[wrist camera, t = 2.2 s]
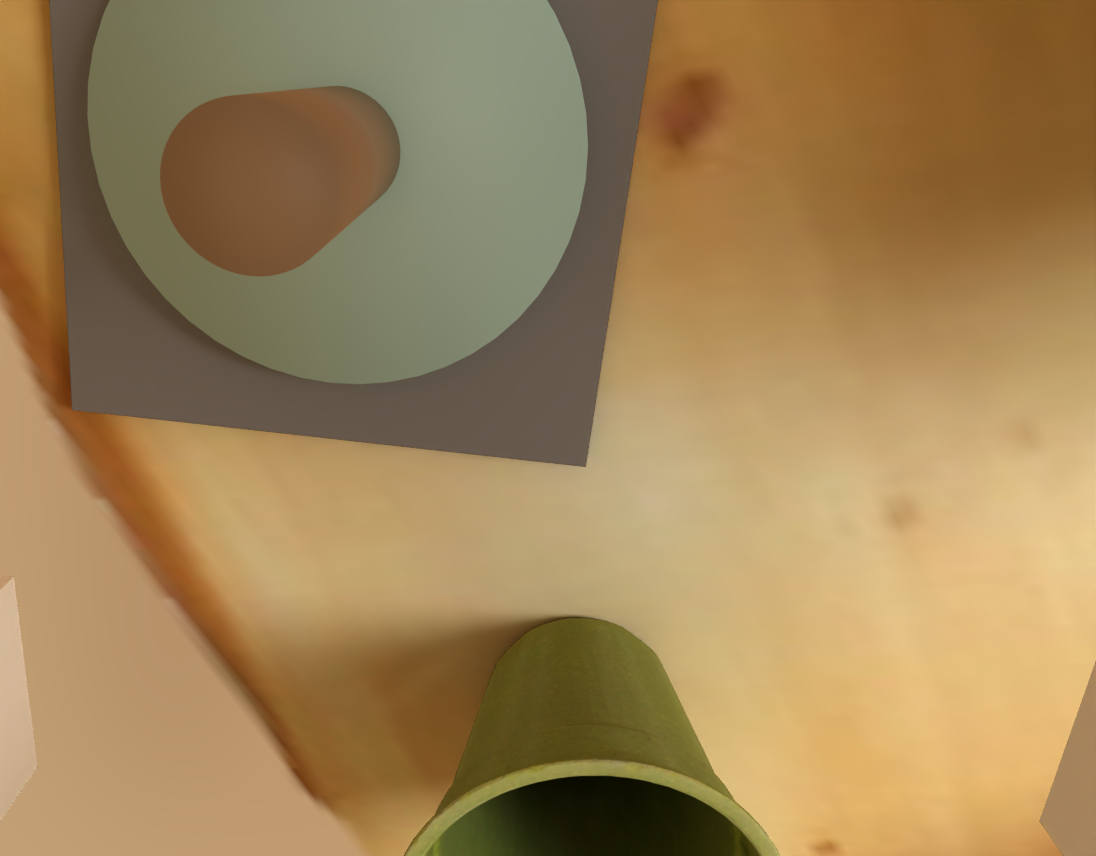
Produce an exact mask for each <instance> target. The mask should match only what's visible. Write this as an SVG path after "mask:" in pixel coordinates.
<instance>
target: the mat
mask: <svg viewBox="0 0 1096 856" xmlns="http://www.w3.org/2000/svg"><path fill="white" fill-rule="evenodd" d="M109 1H110V0H49V4H50V22H51V39H52V57H53V75H54V93H55V111H56V129H57V147H58V165H59V183H60V200H61V218H62V236H63V254H64V272H65V290H66V308H67V326H68V344H69V361H70V379H71V397H72V410H77V411H86V412H95V413H104V414H113V415H122V416H131V417H140V418H149V419H158V420H167V421H177V422H186V423H195V424H204V425H213V426H222V427H231V428H240V429H249V430H258V431H267V432H276V433H285V434H294V435H303V436H312V437H321V438H330V439H339V440H348V441H357V442H366V443H375V444H384V445H393V446H402V447H411V448H420V449H429V450H438V451H447V452H456V453H465V454H474V455H483V456H492V457H501V458H510V459H519V460H528V461H537V462H546V463H555V464H564V465H573V466H582V467H586V461H587V455H588V448H589V442H590V436H591V429H592V423H593V416H594V410H595V403H596V397H597V390H598V384H599V377H600V371H601V364H602V358H603V352H604V345H605V339H606V332H607V326H608V319H609V313H610V306H611V300H612V293H613V287H614V281H615V274H616V268H617V261H618V255H619V248H620V242H621V235H622V229H623V222H624V216H625V209H626V203H627V197H628V190H629V184H630V177H631V171H632V164H633V158H634V151H635V145H636V138H637V132H638V125H639V119H640V113H641V106H642V100H643V93H644V87H645V80H646V74H647V67H648V61H649V54H650V48H651V42H652V35H653V29H654V22H655V16H656V9H657V3H658V0H547V1H548V3H549V4H550V6H551V8H552V9H553V11H554V13H555V15H556V17H557V19H558V21H559V23H560V26H561V28H562V30H563V32H564V34H565V37H566V39H567V41H568V43H569V45H570V49H571V52H572V55H573V58H574V61H575V65H576V68H577V71H578V74H579V77H580V82H581V87H582V93H583V98H584V104H585V109H586V118H587V137H588V155H587V169H586V181H585V186H584V191H583V196H582V201H581V206H580V211H579V214H578V217H577V220H576V223H575V226H574V229H573V232H572V235H571V238H570V241H569V243H568V245H567V247H566V249H565V251H564V254H563V256H562V258H561V260H560V262H559V264H558V266H557V268H556V270H555V271H554V273H553V274H552V276H551V277H550V279H549V280H548V282H547V283H546V285H545V286H544V288H543V289H542V291H541V292H540V294H539V295H538V297H537V298H536V299H535V300H534V301H533V302H532V303H531V305H530V306H529V307H528V308H527V309H526V310H525V311H524V313H523V314H522V315H521V316H520V317H519V318H518V319H517V320H516V321H515V322H514V323H512V324H511V325H510V326H509V327H508V328H507V329H506V330H505V331H503V332H502V333H501V334H500V335H499V336H498V337H497V338H495V339H494V340H492V341H491V342H489V343H488V344H486V345H485V346H483V347H482V348H480V349H479V350H477V351H476V352H474V353H473V354H471V355H469V356H467V357H465V358H463V359H461V360H459V361H457V362H455V363H453V364H451V365H448V366H446V367H444V368H441V369H438V370H435V371H432V372H429V373H426V374H423V375H420V376H417V377H412V378H407V379H402V380H397V381H392V382H384V383H370V384H345V383H329V382H323V381H317V380H311V379H306V378H300V377H297V376H293V375H290V374H287V373H283V372H280V371H277V370H273V369H270V368H268V367H266V366H263V365H261V364H259V363H257V362H254V361H252V360H250V359H247V358H245V357H243V356H241V355H239V354H238V353H236V352H234V351H232V350H231V349H229V348H227V347H225V346H224V345H222V344H220V343H219V342H217V341H215V340H214V339H212V338H211V337H210V336H208V335H207V334H206V333H204V332H203V331H202V330H200V329H199V328H198V327H196V326H195V325H194V324H192V323H191V322H190V321H189V320H188V319H186V318H185V317H184V316H183V315H182V314H181V313H180V312H179V311H178V310H177V309H176V308H175V307H174V306H173V305H172V304H171V303H169V302H168V301H167V300H166V299H165V297H164V296H163V295H162V294H161V293H160V292H159V290H158V289H157V288H156V287H155V286H154V284H153V283H152V282H151V281H150V280H149V279H148V277H147V276H146V275H145V274H144V272H143V271H142V269H141V268H140V266H139V265H138V263H137V262H136V260H135V259H134V257H133V256H132V254H131V253H130V251H129V250H128V248H127V247H126V245H125V243H124V241H123V239H122V237H121V235H120V233H119V231H118V229H117V227H116V225H115V223H114V221H113V219H112V217H111V215H110V212H109V210H108V207H107V204H106V202H105V199H104V196H103V193H102V191H101V188H100V185H99V182H98V177H97V173H96V169H95V165H94V161H93V156H92V152H91V144H90V135H89V126H88V117H87V114H88V79H89V73H90V66H91V60H92V53H93V47H94V44H95V40H96V37H97V34H98V30H99V27H100V23H101V20H102V17H103V14H104V12H105V9H106V7H107V5H108V3H109Z"/></svg>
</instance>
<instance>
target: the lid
mask: <svg viewBox="0 0 1096 856" xmlns="http://www.w3.org/2000/svg"><path fill="white" fill-rule="evenodd" d="M87 117H88V126H89V135H90V144H91V152H92V156H93V161H94V165H95V169H96V173H97V177H98V182H99V185H100V188H101V191H102V193H103V196H104V199H105V202H106V204H107V207H108V210H109V212H110V215H111V217H112V219H113V221H114V223H115V225H116V227H117V229H118V231H119V233H120V235H121V237H122V239H123V241H124V243H125V245H126V247H127V248H128V250H129V251H130V253H131V254H132V256H133V257H134V259H135V260H136V262H137V263H138V265H139V266H140V268H141V269H142V271H143V272H144V274H145V275H146V276H147V277H148V279H149V280H150V281H151V282H152V283H153V284H154V286H155V287H156V288H157V289H158V290H159V292H160V293H161V294H162V295H163V296H164V297H165V299H166V300H167V301H168V302H169V303H171V304H172V305H173V306H174V307H175V308H176V309H177V310H178V311H179V312H180V313H181V314H182V315H183V316H184V317H185V318H186V319H188V320H189V321H190V322H191V323H192V324H194V325H195V326H196V327H198V328H199V329H200V330H202V331H203V332H204V333H206V334H207V335H208V336H210V337H211V338H212V339H214V340H215V341H217V342H219V343H220V344H222V345H224V346H225V347H227V348H229V349H231V350H232V351H234V352H236V353H238V354H239V355H241V356H243V357H245V358H247V359H250V360H252V361H254V362H257V363H259V364H261V365H263V366H266V367H268V368H270V369H273V370H277V371H280V372H283V373H287V374H290V375H293V376H297V377H300V378H306V379H311V380H317V381H323V382H329V383H345V384H370V383H384V382H392V381H397V380H402V379H407V378H412V377H417V376H420V375H423V374H426V373H429V372H432V371H435V370H438V369H441V368H444V367H446V366H448V365H451V364H453V363H455V362H457V361H459V360H461V359H463V358H465V357H467V356H469V355H471V354H473V353H474V352H476V351H477V350H479V349H480V348H482V347H483V346H485V345H486V344H488V343H489V342H491V341H492V340H494V339H495V338H497V337H498V336H499V335H500V334H501V333H502V332H503V331H505V330H506V329H507V328H508V327H509V326H510V325H511V324H512V323H514V322H515V321H516V320H517V319H518V318H519V317H520V316H521V315H522V314H523V313H524V311H525V310H526V309H527V308H528V307H529V306H530V305H531V303H532V302H533V301H534V300H535V299H536V298H537V297H538V295H539V294H540V292H541V291H542V289H543V288H544V286H545V285H546V283H547V282H548V280H549V279H550V277H551V276H552V274H553V273H554V271H555V270H556V268H557V266H558V264H559V262H560V260H561V258H562V256H563V254H564V251H565V249H566V247H567V245H568V243H569V241H570V238H571V235H572V232H573V229H574V226H575V223H576V220H577V217H578V214H579V211H580V206H581V201H582V196H583V191H584V186H585V181H586V169H587V155H588V137H587V118H586V109H585V104H584V98H583V93H582V87H581V82H580V77H579V74H578V71H577V68H576V65H575V61H574V58H573V55H572V52H571V49H570V45H569V43H568V41H567V39H566V37H565V34H564V32H563V30H562V28H561V26H560V23H559V21H558V19H557V17H556V15H555V13H554V11H553V9H552V8H551V6H550V4H549V3H548V1H547V0H110V1H109V3H108V5H107V7H106V9H105V12H104V14H103V17H102V20H101V23H100V27H99V30H98V34H97V37H96V40H95V44H94V47H93V53H92V60H91V66H90V73H89V79H88V114H87Z"/></svg>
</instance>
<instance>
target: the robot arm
mask: <svg viewBox="0 0 1096 856" xmlns="http://www.w3.org/2000/svg"><path fill="white" fill-rule="evenodd" d="M14 583H15V582H14V577H11V576H0V821H1V819H2V818H3V817H4V815H5V814H6V812H7V811H8V809H9V808H10V807H11V805H12V804H13V802H14V801H15V799H16V798H17V796H18V795H19V794H20V792H21V791H22V789H23V788H24V786H25V785H26V784H27V782H28V781H29V779H30V778H31V776H32V775H33V773H34V772H35V771H36V769H37V768H38V767H37V759H36V751H35V743H34V735H33V727H32V719H31V711H30V703H29V695H28V687H27V678H26V672H25V671H26V670H25V663H24V654H23V647H22V638H21V631H20V623H19V614H18V606H17V599H16V590H15V584H14ZM1040 823H1041V824H1042V826H1043V827H1044V829H1045V830H1046V832H1047V833H1048V834H1049V836H1050V837H1051V839H1052V840H1053V842H1054V843H1055V845H1056V846H1057V847H1058V849H1059V850H1060V852H1061V853H1062V855H1063V856H1096V662H1095V665H1094V668H1093V671H1092V673H1091V676H1090V679H1089V682H1088V685H1087V688H1086V690H1085V693H1084V696H1083V699H1082V702H1081V705H1080V707H1079V710H1078V713H1077V716H1076V719H1075V722H1074V724H1073V727H1072V730H1071V733H1070V736H1069V739H1068V742H1067V744H1066V747H1065V750H1064V753H1063V756H1062V759H1061V761H1060V764H1059V767H1058V770H1057V773H1056V776H1055V778H1054V781H1053V784H1052V787H1051V790H1050V793H1049V795H1048V798H1047V801H1046V804H1045V807H1044V810H1043V813H1042V815H1041V818H1040Z"/></svg>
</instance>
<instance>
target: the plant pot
mask: <svg viewBox="0 0 1096 856" xmlns="http://www.w3.org/2000/svg"><path fill="white" fill-rule="evenodd" d="M404 856H780V854H779V852H778V850H777V848H776V847H775V845H774V844H773V842H772V841H771V839H770V838H769V836H768V835H767V834H766V832H765V831H764V830H763V828H762V827H761V826H760V825H759V824H758V823H757V822H756V820H755V819H754V818H753V817H752V816H751V815H750V814H749V813H748V812H747V811H745V810H744V809H743V808H742V807H741V806H740V805H739V804H737V803H736V802H735V800H734V799H733V797H732V795H731V794H730V792H729V791H728V789H727V788H726V786H725V785H724V784H723V783H722V781H721V780H720V779H719V778H718V777H717V776H716V775H715V773H714V771H713V769H712V767H711V765H710V763H709V761H708V758H707V756H706V754H705V752H704V750H703V748H702V746H701V744H700V742H699V740H698V738H697V736H696V734H695V732H694V730H693V728H692V726H691V724H690V722H689V720H688V718H687V715H686V713H685V711H684V709H683V707H682V705H681V703H680V701H679V699H678V696H677V694H676V692H675V690H674V688H673V686H672V684H671V682H670V680H669V678H668V676H667V674H666V672H665V670H664V668H663V666H662V664H661V662H660V660H659V658H658V657H657V655H656V654H655V653H654V651H653V650H652V649H651V648H649V647H648V646H647V645H646V644H645V643H643V642H642V641H641V640H639V639H638V638H637V637H635V636H634V635H633V634H631V633H630V632H628V631H627V630H626V629H624V628H623V627H621V626H618V625H616V624H613V623H610V622H607V621H602V620H596V619H589V618H569V619H562V620H557V621H553V622H549V623H546V624H543V625H540V626H538V627H536V628H534V629H532V630H530V631H528V632H527V633H525V634H524V635H523V636H522V637H521V638H520V639H519V640H518V641H517V642H516V643H514V644H513V645H512V646H511V647H510V648H509V649H508V650H507V651H506V652H505V653H504V654H503V656H502V657H501V658H500V659H499V661H498V662H497V664H496V666H495V668H494V671H493V673H492V676H491V679H490V681H489V684H488V686H487V689H486V692H485V694H484V697H483V700H482V703H481V705H480V708H479V711H478V714H477V717H476V720H475V722H474V725H473V728H472V731H471V734H470V737H469V739H468V742H467V745H466V748H465V751H464V753H463V756H462V759H461V761H460V764H459V767H458V770H457V773H456V775H455V778H454V781H453V784H452V786H451V788H450V789H449V790H448V791H447V793H446V795H445V796H444V798H443V800H442V801H441V803H440V805H439V807H438V809H437V811H436V813H435V815H434V816H433V817H432V818H431V819H430V820H429V821H428V822H427V823H426V825H425V826H424V827H423V828H422V829H421V831H420V832H419V833H418V834H417V836H416V837H415V838H414V839H413V841H412V842H411V844H410V846H409V847H408V849H407V851H406V852H405V854H404Z"/></svg>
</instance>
